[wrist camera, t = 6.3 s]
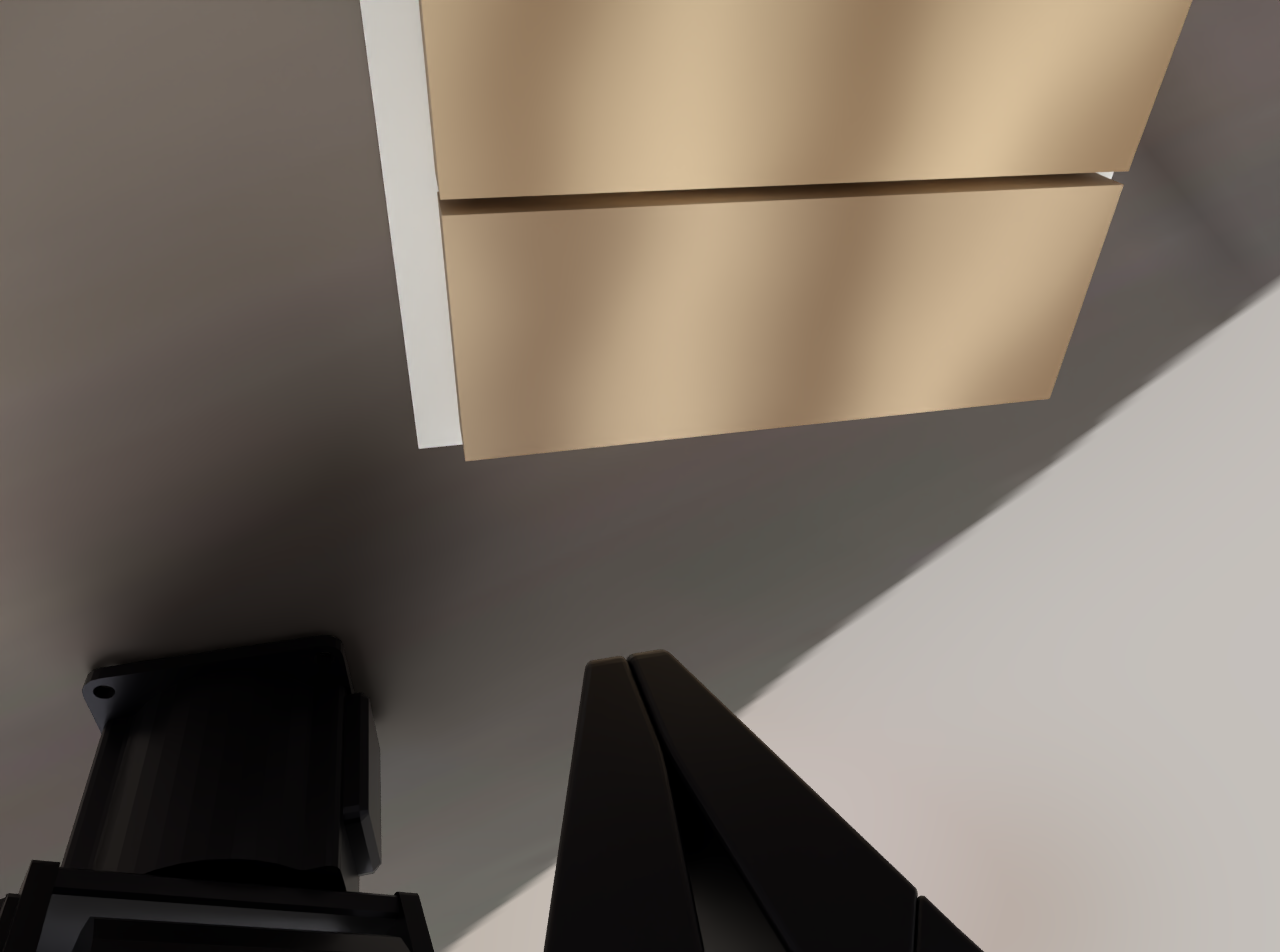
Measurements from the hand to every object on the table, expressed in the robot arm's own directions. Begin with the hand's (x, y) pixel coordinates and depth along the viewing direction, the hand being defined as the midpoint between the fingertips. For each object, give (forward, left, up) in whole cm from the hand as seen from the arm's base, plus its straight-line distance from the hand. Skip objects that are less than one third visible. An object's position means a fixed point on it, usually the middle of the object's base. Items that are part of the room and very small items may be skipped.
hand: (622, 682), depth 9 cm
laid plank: (+7, -1, -12) cm, 14 cm away
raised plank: (+6, +5, -12) cm, 14 cm away
